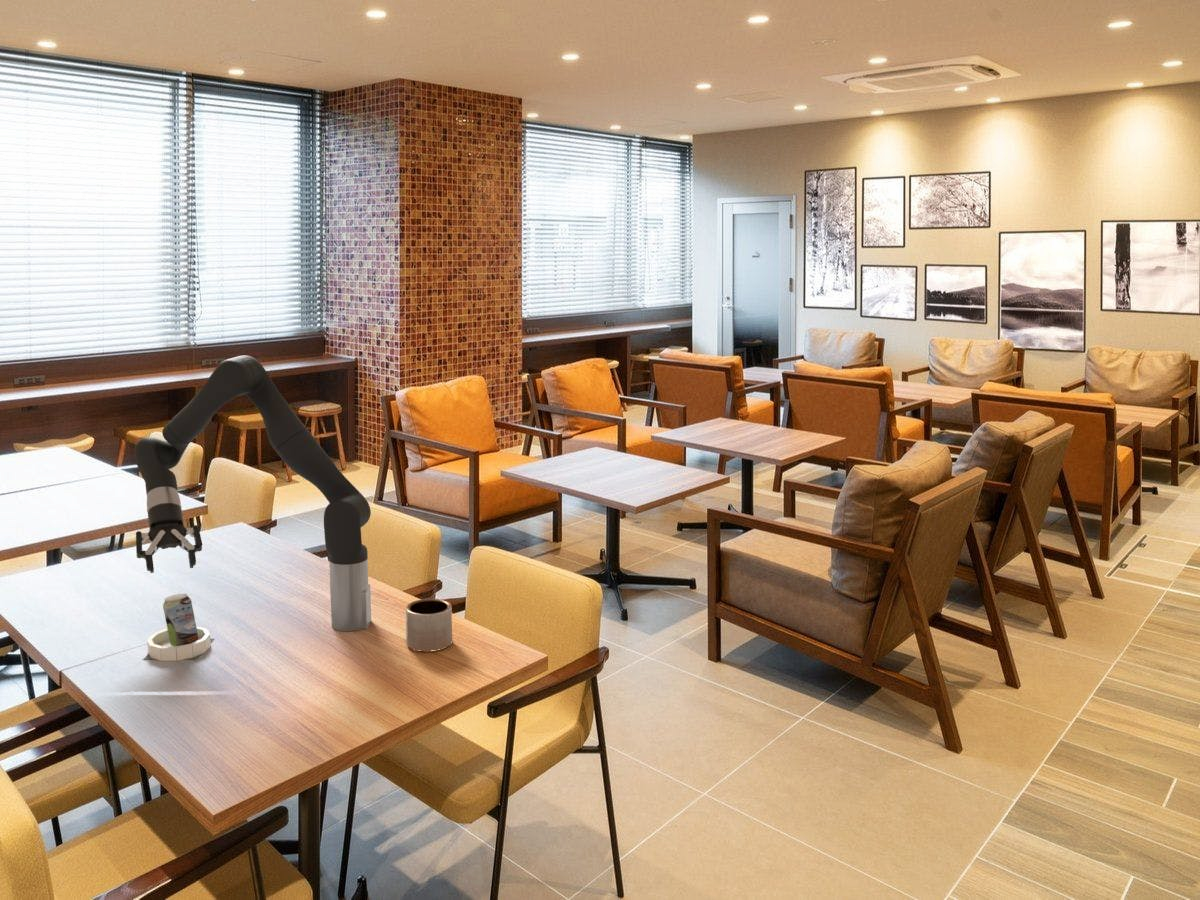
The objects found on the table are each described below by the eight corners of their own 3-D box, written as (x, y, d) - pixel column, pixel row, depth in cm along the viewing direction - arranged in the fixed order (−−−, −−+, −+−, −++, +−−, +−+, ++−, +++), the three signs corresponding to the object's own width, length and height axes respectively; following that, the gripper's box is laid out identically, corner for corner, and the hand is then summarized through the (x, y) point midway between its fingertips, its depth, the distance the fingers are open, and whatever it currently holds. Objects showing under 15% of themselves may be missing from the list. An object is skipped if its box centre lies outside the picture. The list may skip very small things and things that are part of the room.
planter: (414, 656, 222) (413, 617, 220) (400, 639, 232) (400, 602, 230) (458, 648, 227) (458, 610, 225) (444, 632, 237) (443, 595, 235)
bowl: (217, 637, 229) (217, 625, 228) (198, 660, 216) (197, 648, 215) (162, 637, 228) (161, 625, 227) (139, 660, 215) (138, 648, 215)
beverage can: (188, 651, 219) (185, 602, 216) (159, 648, 220) (155, 599, 217) (204, 641, 225) (201, 592, 222) (176, 638, 226) (173, 590, 224)
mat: (215, 640, 228) (214, 638, 228) (197, 662, 217) (196, 659, 216) (163, 640, 228) (163, 638, 228) (142, 662, 216) (142, 659, 216)
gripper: (131, 505, 225) (138, 565, 218) (196, 498, 232) (205, 557, 225) (132, 520, 231) (138, 580, 224) (195, 514, 238) (204, 572, 230)
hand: (172, 569), depth 224 cm, fingers open, 8 cm apart
